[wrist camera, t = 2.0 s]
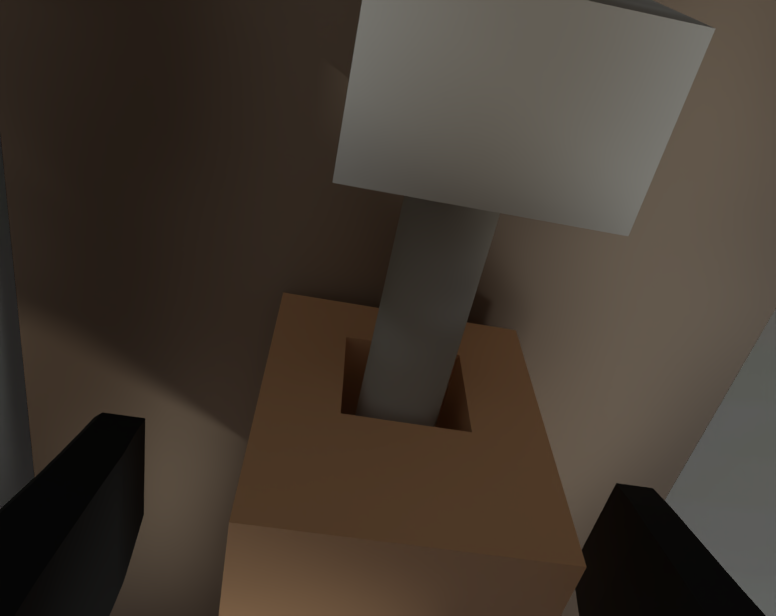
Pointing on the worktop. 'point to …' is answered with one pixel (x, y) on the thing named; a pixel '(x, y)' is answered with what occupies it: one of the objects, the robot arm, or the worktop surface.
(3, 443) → the worktop surface
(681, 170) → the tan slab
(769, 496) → the worktop surface
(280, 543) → the sleeve
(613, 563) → the robot arm
